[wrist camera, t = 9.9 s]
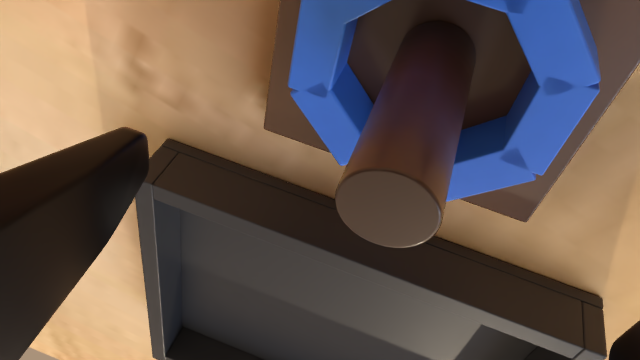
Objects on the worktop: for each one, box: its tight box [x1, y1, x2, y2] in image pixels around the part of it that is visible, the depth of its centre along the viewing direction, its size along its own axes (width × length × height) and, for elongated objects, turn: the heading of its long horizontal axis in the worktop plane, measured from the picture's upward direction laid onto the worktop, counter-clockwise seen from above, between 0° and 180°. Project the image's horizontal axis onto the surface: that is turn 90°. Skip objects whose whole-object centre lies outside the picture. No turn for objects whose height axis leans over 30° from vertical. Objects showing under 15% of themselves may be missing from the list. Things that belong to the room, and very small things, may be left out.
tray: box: [135, 139, 607, 360], centre depth 24 cm, size 18×15×2 cm
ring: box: [288, 0, 601, 202], centre depth 13 cm, size 7×7×2 cm
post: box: [264, 0, 640, 248], centre depth 12 cm, size 9×9×7 cm
